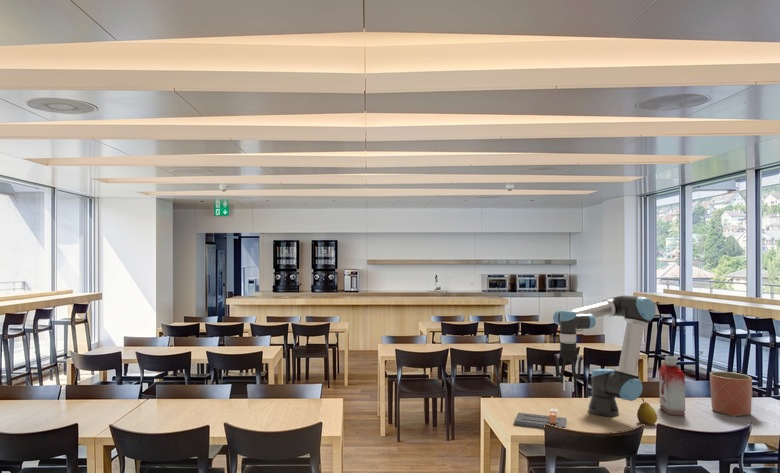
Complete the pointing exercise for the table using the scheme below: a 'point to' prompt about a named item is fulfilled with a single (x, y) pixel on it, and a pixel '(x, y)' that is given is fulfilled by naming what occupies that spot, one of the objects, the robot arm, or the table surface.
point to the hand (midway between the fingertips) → (568, 390)
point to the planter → (731, 393)
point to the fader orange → (552, 418)
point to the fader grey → (554, 412)
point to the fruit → (646, 414)
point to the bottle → (672, 387)
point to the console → (538, 420)
